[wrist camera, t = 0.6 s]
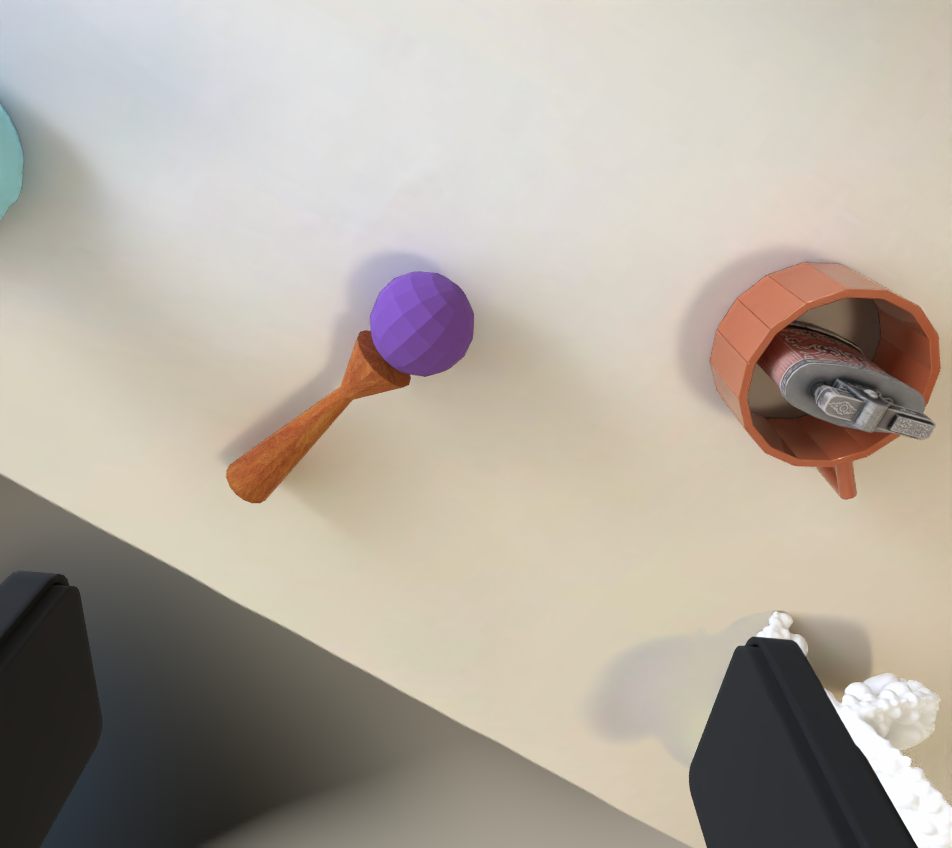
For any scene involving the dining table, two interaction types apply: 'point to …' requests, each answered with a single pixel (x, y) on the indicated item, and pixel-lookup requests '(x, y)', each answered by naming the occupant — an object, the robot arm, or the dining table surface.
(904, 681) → the cauliflower
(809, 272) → the mug
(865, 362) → the lighter
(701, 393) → the dining table surface
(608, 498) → the dining table surface
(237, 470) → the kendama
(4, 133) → the penguin figurine
